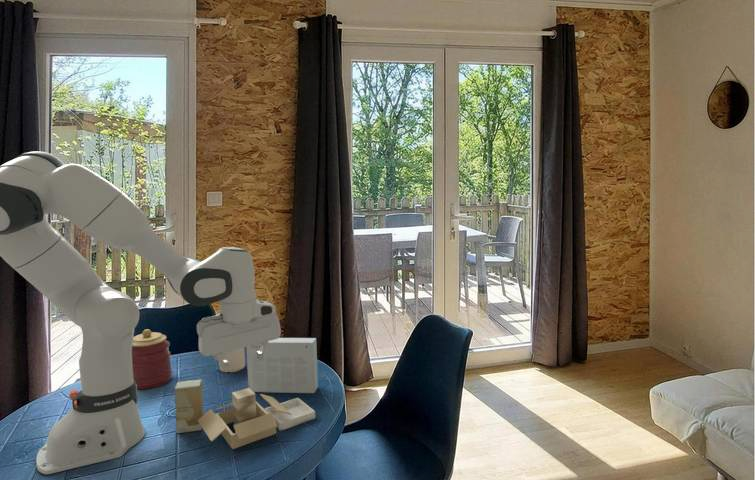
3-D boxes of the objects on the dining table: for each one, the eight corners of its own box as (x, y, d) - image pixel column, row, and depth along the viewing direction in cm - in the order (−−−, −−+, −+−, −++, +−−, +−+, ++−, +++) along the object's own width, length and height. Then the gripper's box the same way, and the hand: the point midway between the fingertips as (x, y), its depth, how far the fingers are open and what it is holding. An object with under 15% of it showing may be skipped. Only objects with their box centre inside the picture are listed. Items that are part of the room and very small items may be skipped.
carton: (216, 462, 101) (214, 439, 101) (194, 427, 116) (193, 407, 116) (297, 431, 113) (296, 411, 113) (268, 404, 128) (267, 386, 128)
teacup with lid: (250, 363, 159) (249, 332, 158) (237, 374, 150) (235, 340, 149) (220, 361, 162) (218, 330, 160) (205, 371, 153) (203, 339, 151)
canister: (155, 391, 138) (150, 336, 136) (118, 389, 140) (113, 335, 138) (180, 374, 151) (177, 324, 149) (146, 372, 153) (142, 322, 151)
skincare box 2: (318, 386, 140) (317, 337, 138) (314, 394, 134) (312, 343, 133) (254, 384, 142) (251, 336, 140) (247, 392, 137) (244, 342, 135)
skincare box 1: (176, 434, 113) (172, 388, 112) (179, 425, 117) (175, 381, 116) (203, 430, 115) (200, 385, 114) (204, 421, 119) (201, 378, 118)
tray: (280, 430, 114) (279, 423, 114) (264, 415, 122) (264, 408, 122) (315, 418, 120) (315, 411, 120) (298, 404, 128) (298, 397, 128)
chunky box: (240, 436, 112) (237, 399, 110) (234, 429, 115) (231, 392, 114) (257, 430, 114) (255, 393, 113) (250, 423, 118) (248, 387, 117)
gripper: (199, 322, 102) (204, 379, 104) (281, 305, 114) (284, 356, 116) (192, 316, 108) (197, 370, 109) (271, 300, 120) (275, 349, 121)
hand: (243, 363), depth 113 cm, fingers open, 8 cm apart
